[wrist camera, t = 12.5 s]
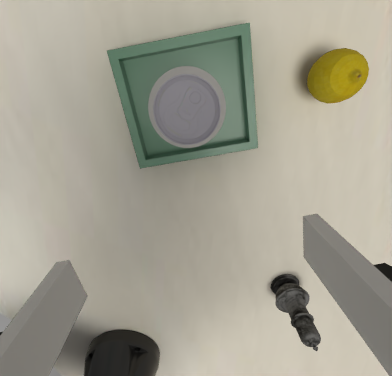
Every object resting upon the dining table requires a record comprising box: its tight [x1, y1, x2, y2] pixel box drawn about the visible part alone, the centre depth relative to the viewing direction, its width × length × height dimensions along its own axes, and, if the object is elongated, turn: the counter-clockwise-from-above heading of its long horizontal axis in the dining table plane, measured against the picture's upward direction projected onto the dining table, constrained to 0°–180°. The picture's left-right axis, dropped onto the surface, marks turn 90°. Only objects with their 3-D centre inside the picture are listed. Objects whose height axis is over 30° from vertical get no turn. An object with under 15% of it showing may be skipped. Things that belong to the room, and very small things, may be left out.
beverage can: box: [148, 66, 226, 148], centre depth 24 cm, size 7×7×12 cm
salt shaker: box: [271, 274, 321, 351], centre depth 38 cm, size 6×6×12 cm
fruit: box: [307, 48, 369, 103], centre depth 26 cm, size 6×6×8 cm
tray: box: [107, 23, 258, 168], centre depth 29 cm, size 16×14×2 cm
